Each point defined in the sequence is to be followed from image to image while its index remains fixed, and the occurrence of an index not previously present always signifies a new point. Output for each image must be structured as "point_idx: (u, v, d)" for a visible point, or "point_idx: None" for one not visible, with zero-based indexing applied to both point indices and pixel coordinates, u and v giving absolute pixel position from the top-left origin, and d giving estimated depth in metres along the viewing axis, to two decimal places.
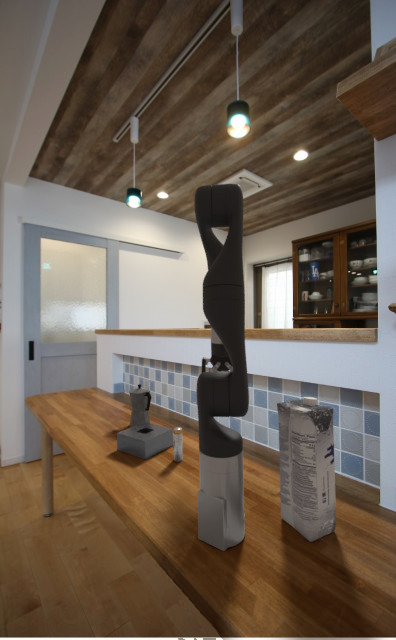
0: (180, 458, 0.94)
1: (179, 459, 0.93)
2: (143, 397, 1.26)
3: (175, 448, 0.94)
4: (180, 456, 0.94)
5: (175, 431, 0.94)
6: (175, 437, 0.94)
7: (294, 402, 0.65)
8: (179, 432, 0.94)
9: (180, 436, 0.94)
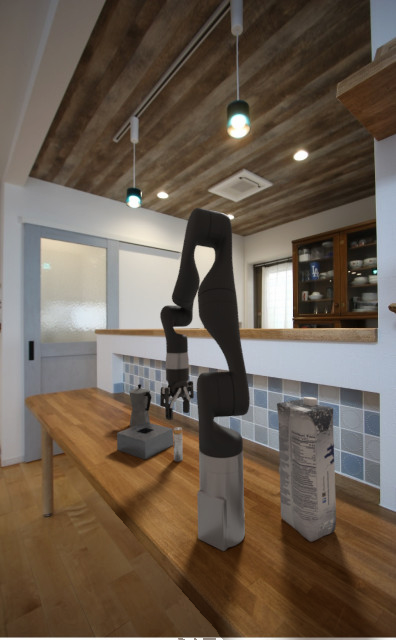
0: (180, 458, 0.94)
1: (179, 459, 0.93)
2: (143, 397, 1.26)
3: (175, 448, 0.94)
4: (180, 456, 0.94)
5: (175, 431, 0.94)
6: (175, 437, 0.94)
7: (294, 402, 0.65)
8: (179, 432, 0.94)
9: (180, 436, 0.94)
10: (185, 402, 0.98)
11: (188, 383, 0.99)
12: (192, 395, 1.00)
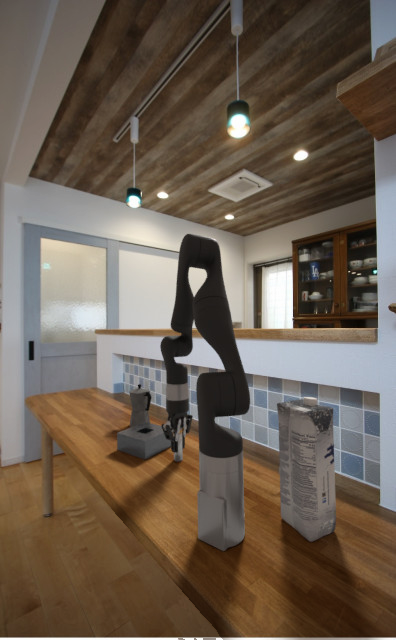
0: (180, 458, 0.94)
1: (179, 459, 0.93)
2: (143, 397, 1.26)
3: None
4: (180, 456, 0.94)
5: None
6: None
7: (294, 402, 0.65)
8: None
9: (180, 436, 0.94)
10: None
11: (188, 416, 0.99)
12: (188, 430, 0.97)
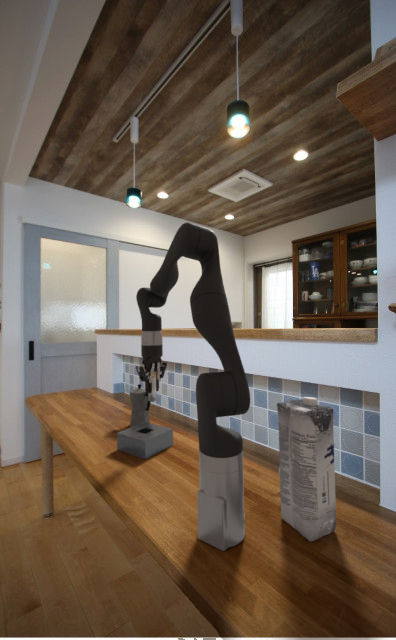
0: (154, 398, 1.03)
1: (153, 399, 1.03)
2: (143, 397, 1.26)
3: None
4: (154, 397, 1.03)
5: None
6: None
7: (294, 402, 0.65)
8: (153, 375, 1.03)
9: (153, 378, 1.03)
10: None
11: (162, 363, 1.08)
12: (162, 375, 1.06)
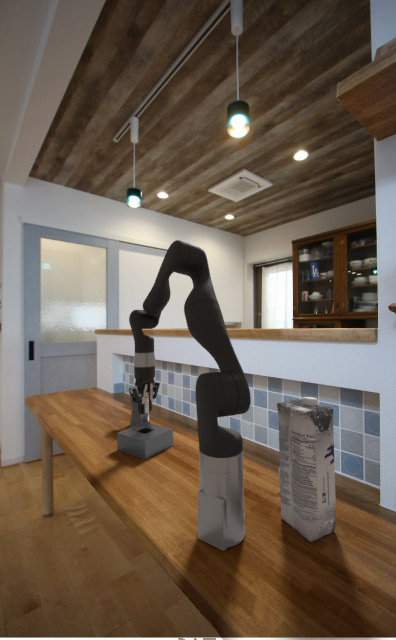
0: (146, 419, 1.04)
1: (145, 420, 1.04)
2: None
3: None
4: (146, 418, 1.04)
5: None
6: None
7: (294, 402, 0.65)
8: None
9: (146, 399, 1.04)
10: None
11: (155, 383, 1.09)
12: (154, 395, 1.08)
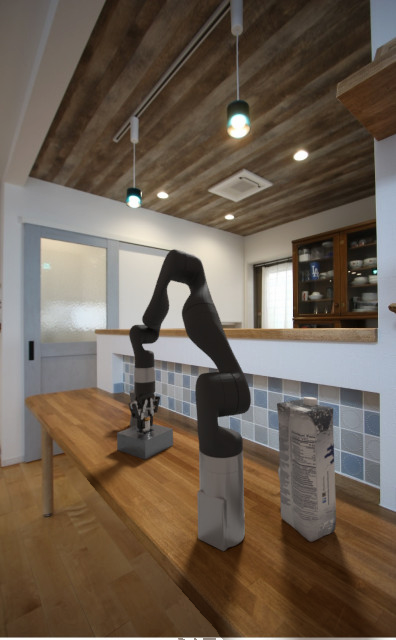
0: None
1: None
2: None
3: None
4: None
5: None
6: None
7: (294, 402, 0.65)
8: (147, 419, 1.04)
9: (147, 423, 1.04)
10: None
11: (155, 397, 1.09)
12: (156, 409, 1.08)
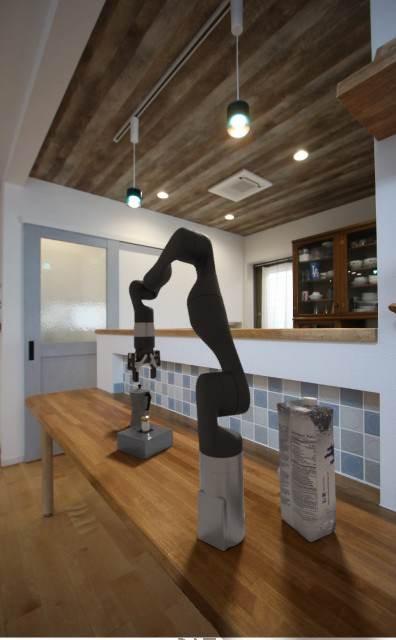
0: None
1: None
2: (143, 397, 1.26)
3: None
4: None
5: (142, 419, 1.04)
6: (143, 424, 1.04)
7: (294, 402, 0.65)
8: (146, 419, 1.04)
9: (147, 423, 1.04)
10: (152, 369, 1.08)
11: (155, 352, 1.09)
12: (159, 363, 1.10)
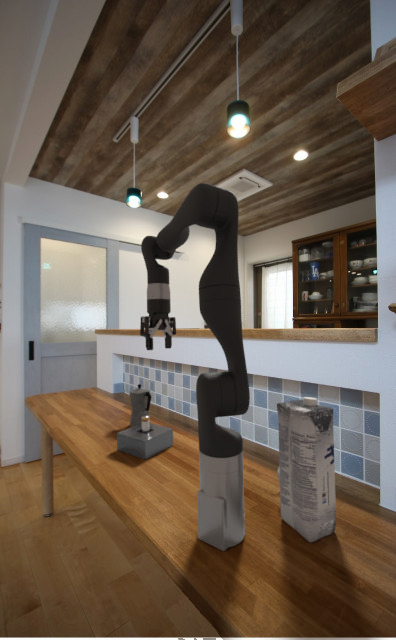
0: None
1: None
2: (143, 397, 1.26)
3: None
4: None
5: (142, 419, 1.04)
6: (143, 424, 1.04)
7: (294, 402, 0.65)
8: (146, 419, 1.04)
9: (147, 423, 1.04)
10: (167, 337, 0.97)
11: (170, 319, 0.97)
12: (174, 331, 0.98)
